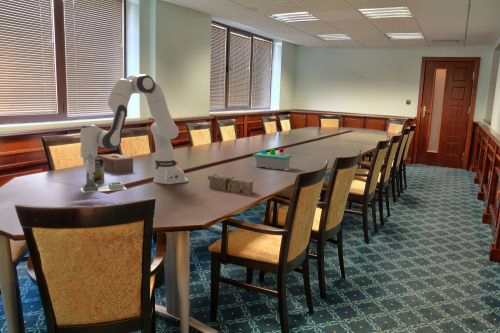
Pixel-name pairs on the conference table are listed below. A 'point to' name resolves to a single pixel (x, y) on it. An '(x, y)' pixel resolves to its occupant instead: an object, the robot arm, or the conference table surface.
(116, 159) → the tissue box cover
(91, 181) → the plug
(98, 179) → the coffee box
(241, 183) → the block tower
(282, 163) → the control panel
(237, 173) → the conference table surface
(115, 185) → the panel
